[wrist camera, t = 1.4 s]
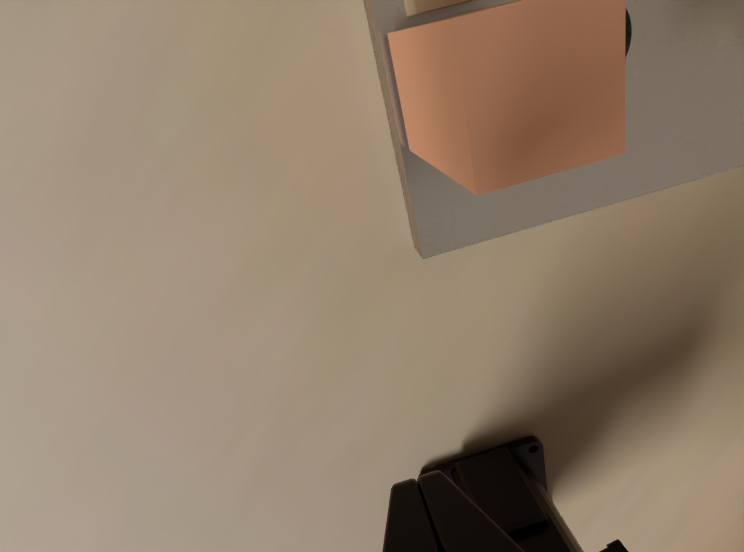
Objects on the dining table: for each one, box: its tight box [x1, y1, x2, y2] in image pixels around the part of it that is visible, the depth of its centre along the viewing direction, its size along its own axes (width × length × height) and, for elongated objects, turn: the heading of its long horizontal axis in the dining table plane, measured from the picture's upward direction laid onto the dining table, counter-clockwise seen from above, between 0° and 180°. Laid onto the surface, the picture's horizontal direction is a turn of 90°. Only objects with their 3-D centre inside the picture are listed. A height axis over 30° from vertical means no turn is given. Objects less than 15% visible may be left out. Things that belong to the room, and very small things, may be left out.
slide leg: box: [387, 0, 626, 195], centre depth 13 cm, size 4×4×6 cm
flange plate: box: [364, 0, 744, 259], centre depth 17 cm, size 12×20×1 cm, turn 103°
